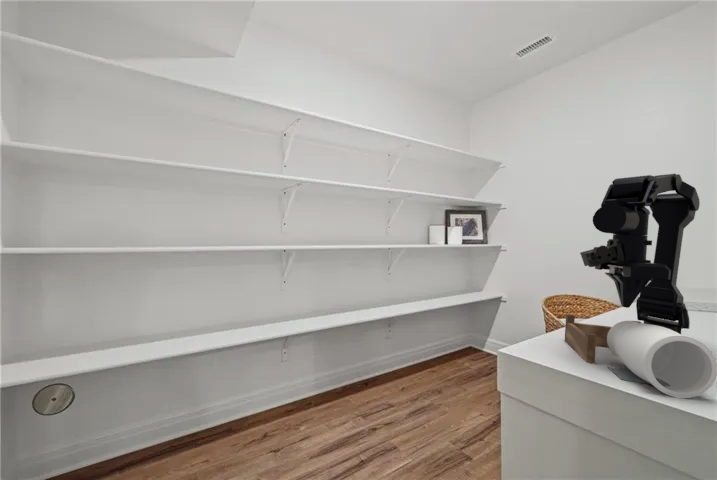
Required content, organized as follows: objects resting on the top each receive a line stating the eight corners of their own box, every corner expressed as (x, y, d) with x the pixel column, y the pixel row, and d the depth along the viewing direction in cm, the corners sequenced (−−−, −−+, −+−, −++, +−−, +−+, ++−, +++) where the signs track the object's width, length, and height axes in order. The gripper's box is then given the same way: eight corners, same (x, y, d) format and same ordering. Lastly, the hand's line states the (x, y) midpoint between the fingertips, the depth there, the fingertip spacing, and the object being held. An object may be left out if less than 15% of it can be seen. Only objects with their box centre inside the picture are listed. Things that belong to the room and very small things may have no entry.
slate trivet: (655, 374, 64) (655, 373, 64) (674, 387, 58) (674, 386, 58) (607, 367, 66) (607, 366, 66) (621, 379, 60) (621, 378, 60)
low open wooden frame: (637, 349, 78) (638, 321, 78) (677, 375, 64) (679, 340, 64) (564, 340, 83) (566, 313, 83) (586, 362, 69) (588, 329, 68)
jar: (653, 369, 68) (714, 404, 53) (597, 360, 70) (641, 391, 55) (659, 319, 67) (722, 341, 53) (603, 311, 70) (649, 330, 55)
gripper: (572, 234, 80) (568, 296, 81) (603, 232, 63) (598, 312, 63) (626, 236, 77) (622, 300, 77) (675, 235, 59) (669, 319, 60)
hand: (625, 307), depth 69 cm, fingers closed
